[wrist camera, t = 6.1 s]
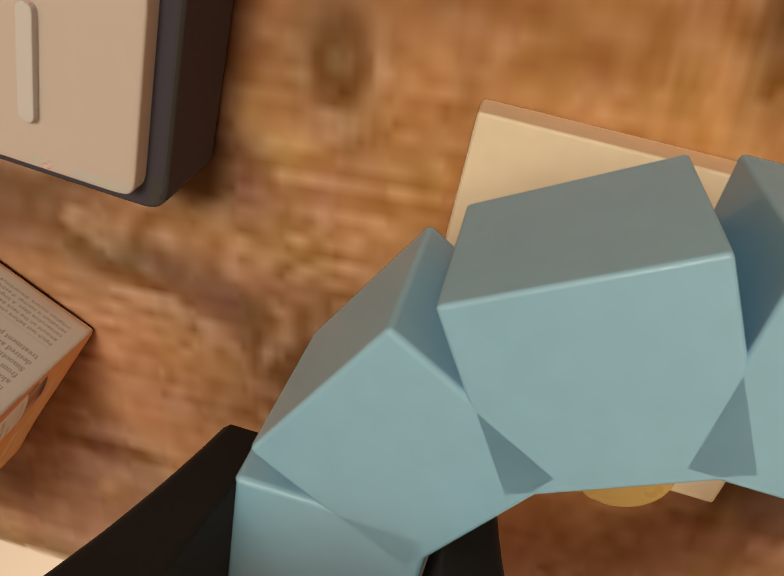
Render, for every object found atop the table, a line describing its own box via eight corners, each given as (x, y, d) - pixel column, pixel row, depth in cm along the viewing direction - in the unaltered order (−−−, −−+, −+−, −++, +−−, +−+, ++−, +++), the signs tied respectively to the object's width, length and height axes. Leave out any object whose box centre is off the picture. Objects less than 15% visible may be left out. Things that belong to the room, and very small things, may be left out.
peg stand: (877, 195, 15) (1034, 350, 10) (705, 472, 20) (753, 672, 15) (483, 97, 16) (444, 194, 11) (408, 386, 21) (357, 547, 16)
